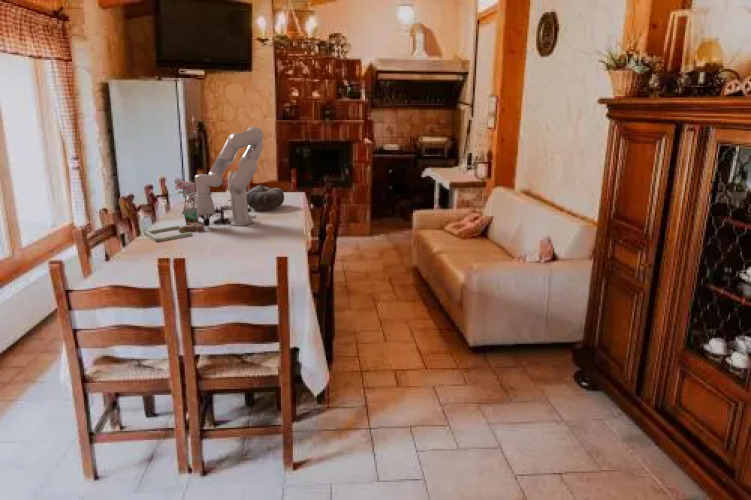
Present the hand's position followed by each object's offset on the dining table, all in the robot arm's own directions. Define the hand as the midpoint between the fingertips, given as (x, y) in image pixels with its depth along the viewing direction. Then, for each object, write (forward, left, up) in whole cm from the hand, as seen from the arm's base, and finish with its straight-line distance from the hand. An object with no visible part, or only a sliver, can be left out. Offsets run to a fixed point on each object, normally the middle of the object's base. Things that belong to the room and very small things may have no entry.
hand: (207, 225), depth 328 cm
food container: (+1, -17, -1) cm, 17 cm away
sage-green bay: (+22, 0, -1) cm, 22 cm away
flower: (-13, -52, -1) cm, 54 cm away
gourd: (-51, -22, -2) cm, 55 cm away
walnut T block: (+10, 0, -1) cm, 10 cm away
